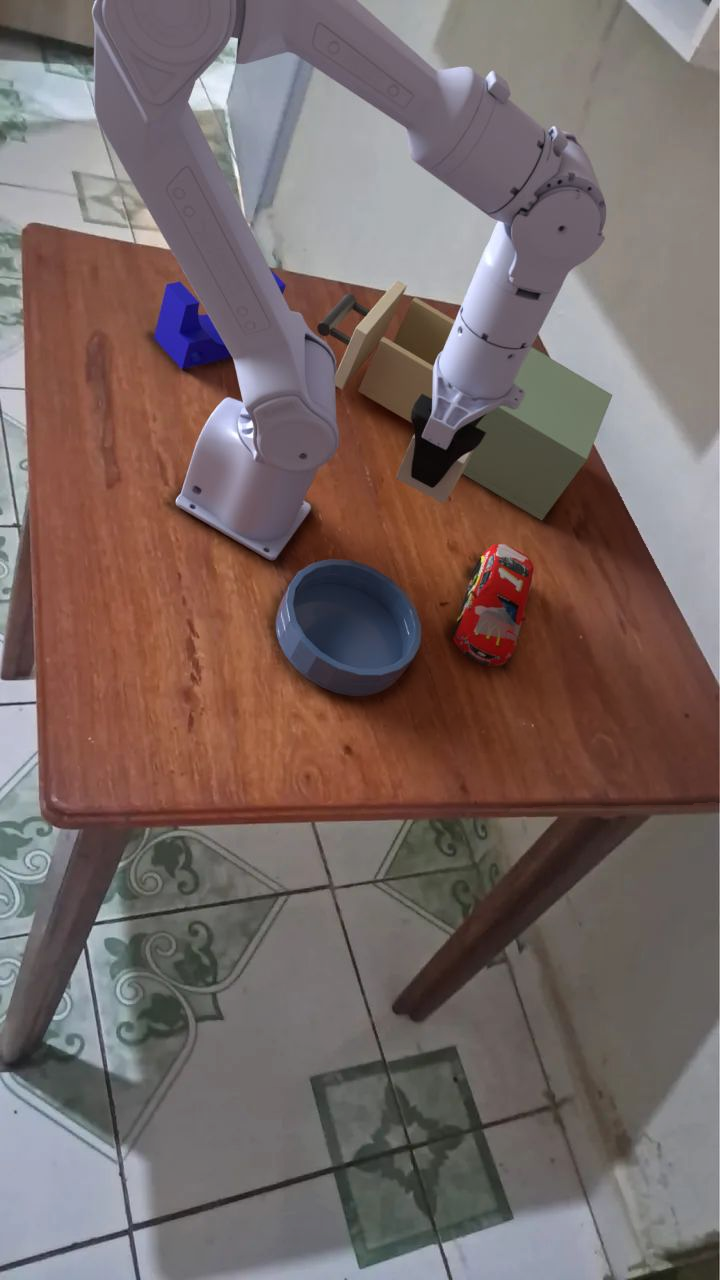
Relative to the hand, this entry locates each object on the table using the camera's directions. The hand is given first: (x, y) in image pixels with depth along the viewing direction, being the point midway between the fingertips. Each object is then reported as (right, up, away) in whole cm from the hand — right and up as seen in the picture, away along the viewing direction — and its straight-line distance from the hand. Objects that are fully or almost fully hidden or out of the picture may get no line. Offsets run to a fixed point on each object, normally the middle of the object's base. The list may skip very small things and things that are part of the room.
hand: (433, 463), depth 77 cm
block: (0, -1, +1) cm, 1 cm away
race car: (+5, -12, +7) cm, 15 cm away
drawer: (-3, +12, +21) cm, 24 cm away
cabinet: (+8, +5, +21) cm, 23 cm away
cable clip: (-20, +15, +16) cm, 29 cm away
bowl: (-7, -14, -1) cm, 16 cm away
